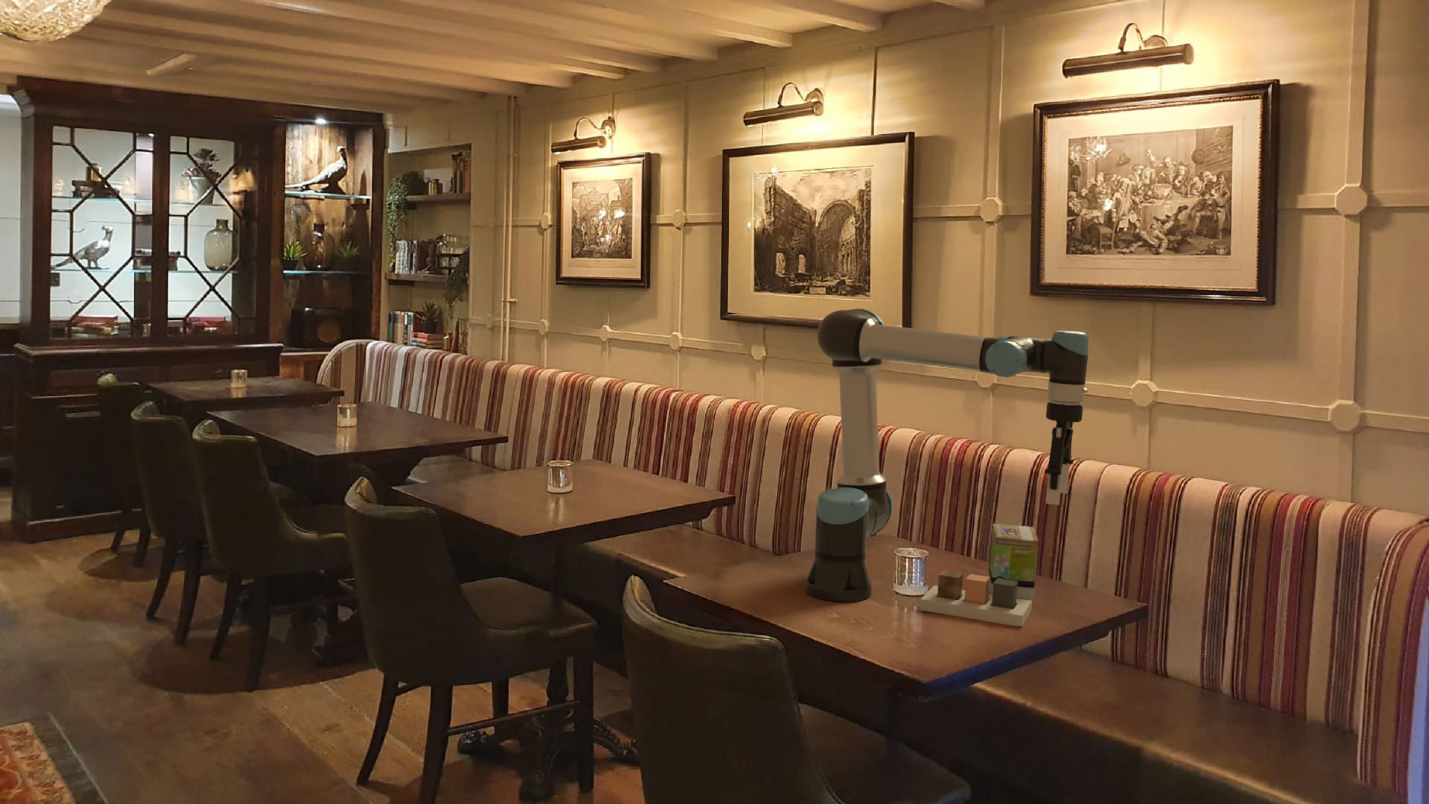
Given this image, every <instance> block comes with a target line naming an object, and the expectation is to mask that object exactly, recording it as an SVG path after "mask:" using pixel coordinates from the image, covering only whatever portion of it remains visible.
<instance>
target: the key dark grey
mask: <svg viewBox="0 0 1429 804" xmlns="http://www.w3.org/2000/svg"><path fill="white" fill-rule="evenodd" d="M1017 585H1018V581H1013V580H1006V579H1000V578H997V579H996V581H995V582H994V583H993V596H992V605H993V606H999V607H1005V608H1011V609H1013V607H1014V606H1015V604H1016V599H1017Z"/></svg>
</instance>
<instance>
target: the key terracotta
mask: <svg viewBox="0 0 1429 804" xmlns="http://www.w3.org/2000/svg"><path fill="white" fill-rule="evenodd" d="M964 586H965V587H964V590H965V599H964V601H968V602H974V603H980V604H985V603H986V602H987V600H988V599H989V594H990V591H989V586H990V577H988V576H987V575H986V576H985V575H978V574H968V576H966V578H965V584H964Z"/></svg>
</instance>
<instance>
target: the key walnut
mask: <svg viewBox="0 0 1429 804" xmlns="http://www.w3.org/2000/svg"><path fill="white" fill-rule="evenodd" d="M963 578H964V573H963V572H958V571H953V570H947V569H946V570H944V569H943V570H942V571H941V572H940V573H939V574H938V583H937V586H938V595H937V597H943V598H949V599H955V600H957V599H958V598H959V597H960V596H961V595H962V590H963Z"/></svg>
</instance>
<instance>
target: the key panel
mask: <svg viewBox="0 0 1429 804" xmlns="http://www.w3.org/2000/svg"><path fill="white" fill-rule="evenodd" d="M937 595H938V585H935V584H934V585H933V586H932V587H931V588H930V589H929V590H928V591H927V592H926V593H925V594H924V595H923V596H922V597H921V598H920V602H919V603H920V604H919V611H924V612H929V613H935V614H940V615H941V614H943V615H946V616H954V617H960V618H965V619H972V620H977V621H983V622H989V623H996V624H999V625H1000V624H1001V625H1007V626H1008V625H1009V626H1014V627H1018V626H1021V627H1020V628H1023V626H1024V624H1025V622H1026V621H1027V619H1028V618H1029V616H1030V615H1031V614H1032V608H1033V607H1032V606H1033V602H1032V601H1030V600H1024V599H1016V604H1015V606H1014V607H1013V609H1011V608H1005V607H999V606H993V605H992V596H993V595H992V594H990V593H989V599H988V600H987V602H986V603H985V604H980V603H974V602H968V601H964V599H965V589H962V595H961V596H960V597H959V598H958V599H957V600H955V599H949V598H943V597H937Z"/></svg>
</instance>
